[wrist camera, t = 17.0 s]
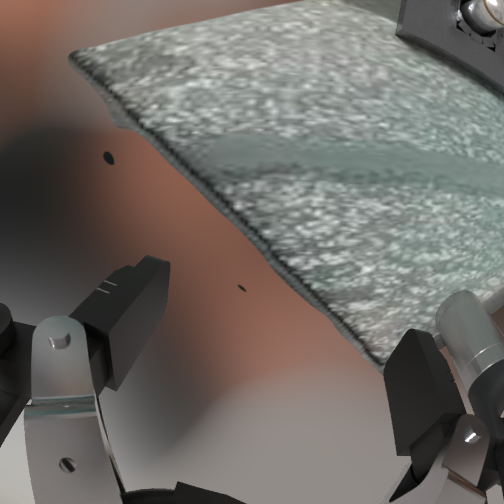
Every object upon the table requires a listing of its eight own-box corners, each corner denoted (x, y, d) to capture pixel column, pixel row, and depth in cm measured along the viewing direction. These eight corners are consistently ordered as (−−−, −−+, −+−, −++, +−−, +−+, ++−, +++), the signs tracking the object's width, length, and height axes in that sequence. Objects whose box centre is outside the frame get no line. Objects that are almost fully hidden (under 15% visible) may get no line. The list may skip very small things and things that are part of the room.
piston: (482, 17, 23) (517, 3, 14) (480, 41, 25) (517, 32, 16) (456, 0, 23) (487, -19, 14) (453, 25, 26) (487, 9, 17)
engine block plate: (522, 17, 20) (532, 14, 17) (514, 103, 28) (525, 103, 25) (409, -52, 21) (414, -60, 18) (395, 34, 29) (401, 29, 26)
